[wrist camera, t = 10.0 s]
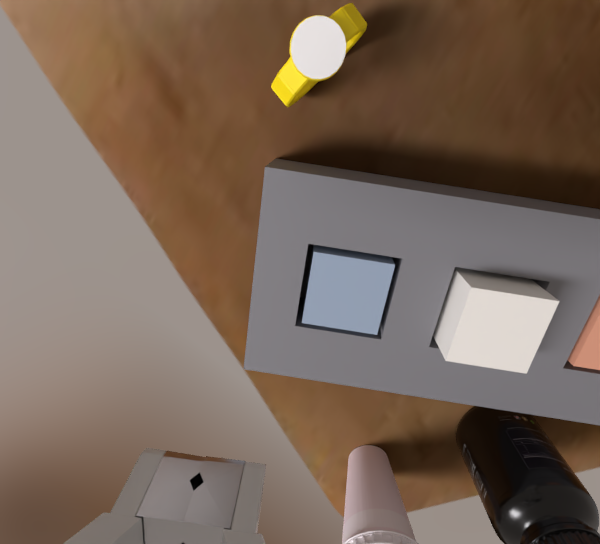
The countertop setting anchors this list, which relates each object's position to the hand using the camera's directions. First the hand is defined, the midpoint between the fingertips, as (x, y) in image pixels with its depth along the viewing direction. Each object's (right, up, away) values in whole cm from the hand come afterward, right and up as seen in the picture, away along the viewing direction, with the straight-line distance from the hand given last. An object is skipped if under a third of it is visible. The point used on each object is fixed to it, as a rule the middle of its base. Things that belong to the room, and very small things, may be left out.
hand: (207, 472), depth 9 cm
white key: (+14, +3, +17) cm, 22 cm away
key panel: (+14, +4, +19) cm, 24 cm away
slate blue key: (+5, +5, +18) cm, 20 cm away
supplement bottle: (+20, -9, +24) cm, 32 cm away
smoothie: (+9, -13, +27) cm, 31 cm away
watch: (+4, +18, +14) cm, 23 cm away
